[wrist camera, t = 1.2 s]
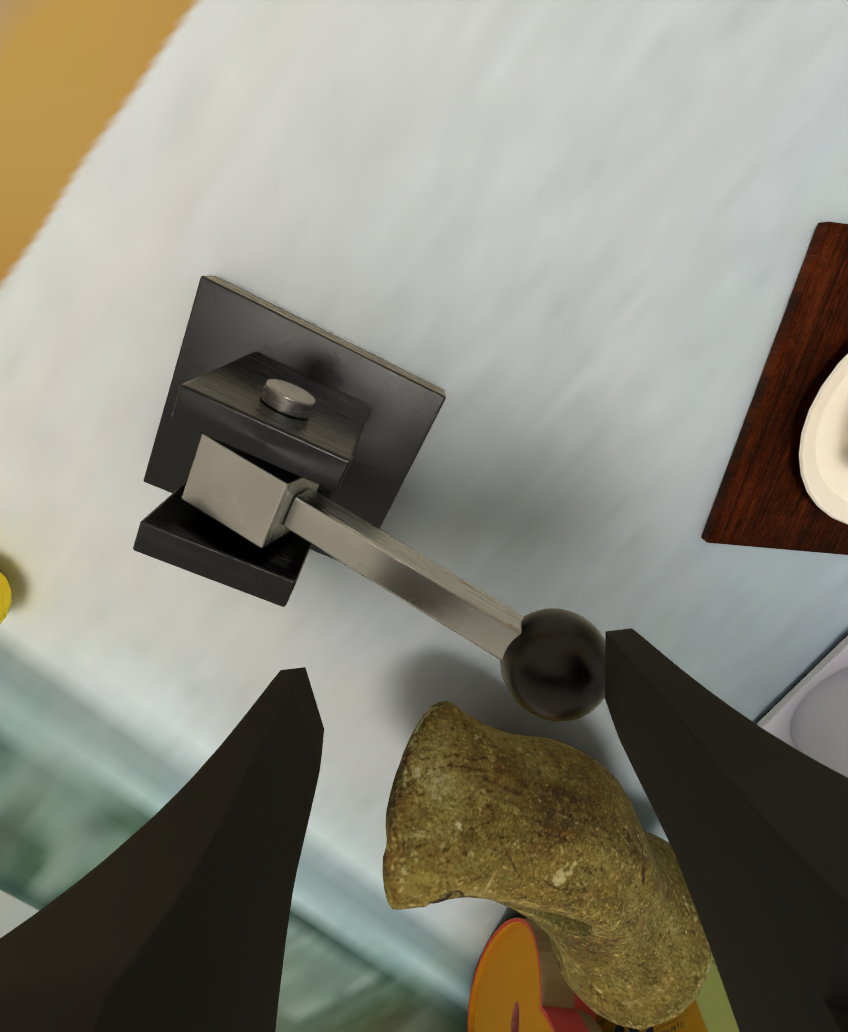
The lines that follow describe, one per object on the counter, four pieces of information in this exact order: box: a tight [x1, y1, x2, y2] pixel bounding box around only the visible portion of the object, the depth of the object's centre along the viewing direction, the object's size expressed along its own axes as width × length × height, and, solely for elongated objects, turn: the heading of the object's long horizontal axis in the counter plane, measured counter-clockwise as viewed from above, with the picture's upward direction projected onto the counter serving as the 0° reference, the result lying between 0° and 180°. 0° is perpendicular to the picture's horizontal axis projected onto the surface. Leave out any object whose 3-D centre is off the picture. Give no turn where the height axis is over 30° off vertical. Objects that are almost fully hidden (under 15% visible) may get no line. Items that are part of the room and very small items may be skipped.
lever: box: [182, 434, 605, 722], centre depth 15 cm, size 13×3×3 cm, turn 63°
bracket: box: [133, 276, 446, 607], centre depth 17 cm, size 9×8×7 cm
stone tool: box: [383, 701, 712, 1029], centre depth 24 cm, size 20×9×10 cm
